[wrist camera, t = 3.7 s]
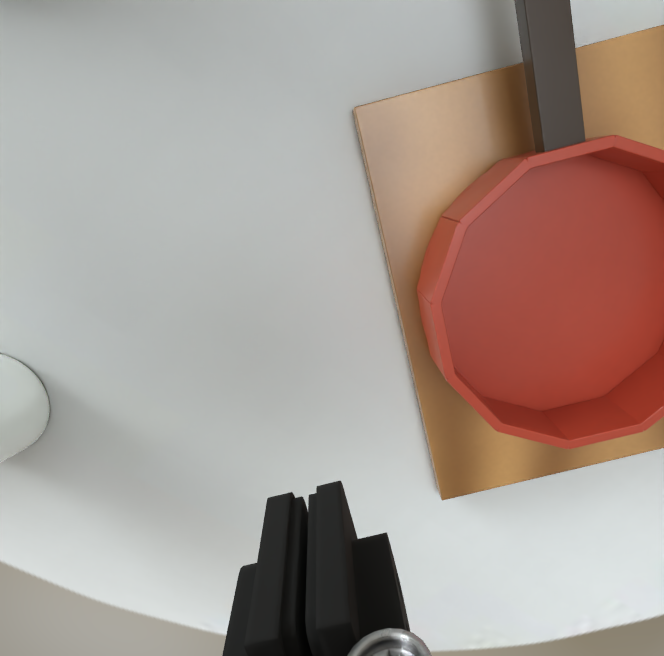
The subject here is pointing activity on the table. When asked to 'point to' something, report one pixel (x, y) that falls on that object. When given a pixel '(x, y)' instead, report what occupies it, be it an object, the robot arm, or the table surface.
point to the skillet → (554, 268)
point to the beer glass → (20, 407)
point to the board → (441, 191)
